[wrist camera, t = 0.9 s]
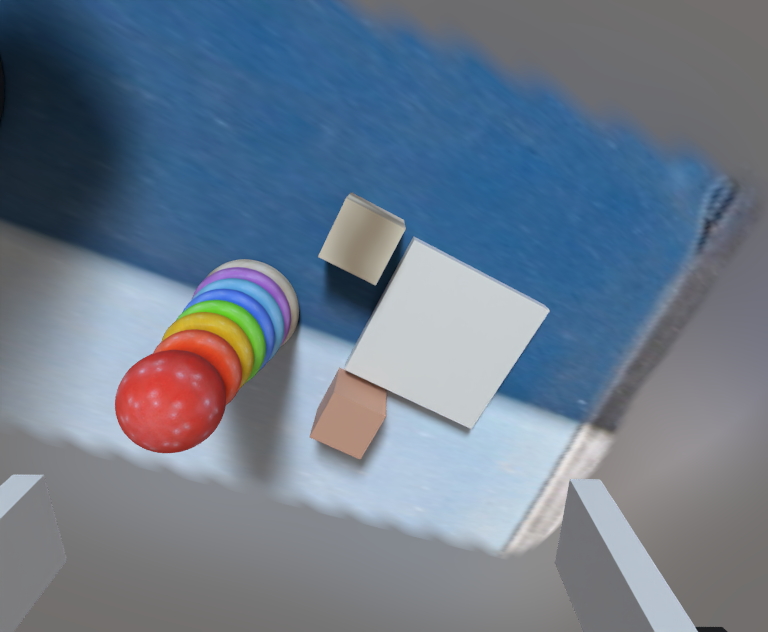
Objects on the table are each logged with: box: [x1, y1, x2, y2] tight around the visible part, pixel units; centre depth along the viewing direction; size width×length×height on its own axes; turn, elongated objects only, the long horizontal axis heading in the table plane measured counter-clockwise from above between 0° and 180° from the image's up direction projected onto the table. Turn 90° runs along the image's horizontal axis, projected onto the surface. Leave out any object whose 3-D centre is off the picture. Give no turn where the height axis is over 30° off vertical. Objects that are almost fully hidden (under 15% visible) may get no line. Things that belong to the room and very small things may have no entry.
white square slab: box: [344, 236, 550, 429], centre depth 40 cm, size 12×12×2 cm
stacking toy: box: [115, 259, 299, 453], centre depth 31 cm, size 8×8×19 cm
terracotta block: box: [310, 368, 386, 460], centre depth 40 cm, size 4×4×4 cm
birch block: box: [318, 192, 406, 286], centre depth 36 cm, size 4×4×4 cm
